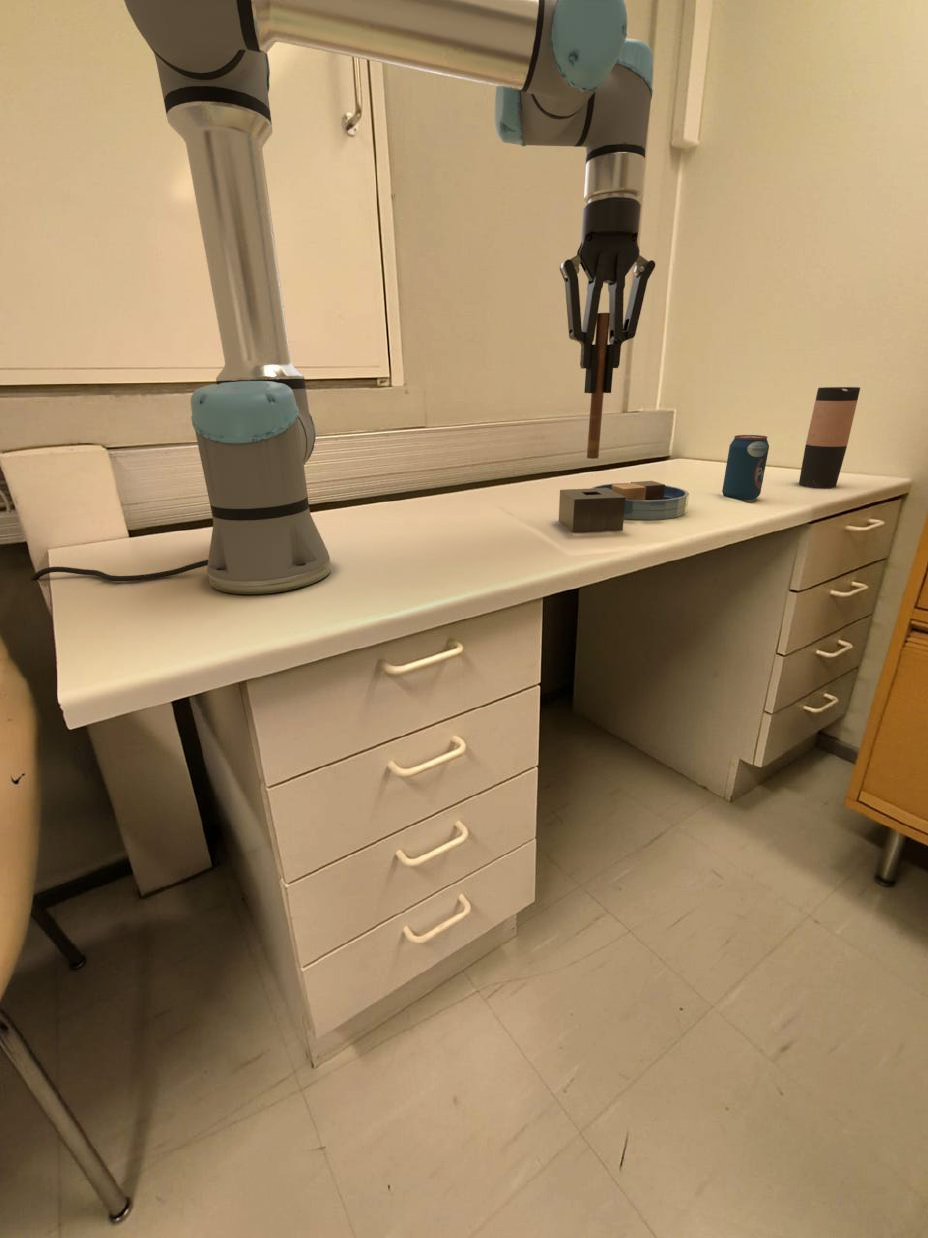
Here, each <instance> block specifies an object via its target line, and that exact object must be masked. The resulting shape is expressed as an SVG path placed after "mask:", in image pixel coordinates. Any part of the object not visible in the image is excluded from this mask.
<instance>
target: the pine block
mask: <svg viewBox="0 0 928 1238" xmlns="http://www.w3.org/2000/svg"><path fill="white" fill-rule="evenodd" d="M628 483H629V484H614V483H613V484H614V485H612V489H611V490H613V491H615V492H616V493H618V494H620V495H622V496H624V497H626V500H645V495H646V487H644V486H641V485H638V484H634V483H631V482H628Z"/></svg>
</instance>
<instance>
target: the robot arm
mask: <svg viewBox="0 0 928 1238" xmlns="http://www.w3.org/2000/svg"><path fill="white" fill-rule="evenodd" d="M123 2H124V3H125V6H126V10H127V11H128V14H129V16H130V18H131V19H132V22H133V23H134V25H135V27H136V29H137V30H138V31H139V33H140V35H141V36H142V38H143V39H144V40H145V42H146V44H147V45H148V46H149V48H150V49H151V51H152V53H153V55H154V59H155V62H156V67H157V74H158V77H159V78H158V79H159V85H160V88H161V93H162V99H163V104H164V109H165V115H166V120H167V123H168V125H169V126H170V127H171V128H172V129H173V130H174V132H176V133H177V134H178V136H180V138H182V139H183V141H184V143H185V146H186V147H185V148H186V152H187V158H188V163H189V169H190V175H191V180H192V186H193V191H194V197H195V203H196V206H197V207H196V208H197V215H198V219H199V224H200V230H201V236H202V237H201V238H202V242H203V248H204V253H205V258H206V265H207V270H208V277H209V282H210V287H211V293H212V298H213V303H214V309H215V315H216V320H217V325H218V326H217V327H218V331H219V337H220V343H221V348H222V354H223V358H224V366H223V368H222V369H221V371H220V372H219V373H218V375H217V376H216V378H215V382H216V384H213V383H212V384H208V385H204V386H201V387H199V388H196V390H194V392H193V393H192V394H191V396H190V410H191V416H190V419H191V425H192V428H193V429H194V432H195V437H196V442H197V446H198V452H199V456H200V462H201V466H202V471H203V476H204V482H205V486H206V487H205V488H206V492H207V496H208V502H209V507H210V512H211V517H212V529H211V530H212V531H211V537H210V545H209V550H208V559H207V558H206V559H204V560H201V561H197V562H194V563H190V564H187V565H183V566H180V567H178V568H174V569H169V570H164V571H158V572H151V573H145V574H134V575H114V574H107V573H106V572H103V571H100V570H97V569H86V568H76V567H69V566H50V567H49V566H48V567H45V568H42V569H39V570H38V571H37V572H35V573H34V574H33V575H32V576H31V577H30V579H29V581H30V582H36V581H38V580H40V578H42V576H45V575H47V574H51V573H65V574H67V573H68V574H74V575H81V576H95V577H98V578H101V579H102V580H106V581H109V582H122V583H123V582H139V581H148V580H154V579H161V578H167V577H172V576H176V575H180V574H183V573H187V572H189V571H191V570H196V569H199V568H203V567H207V569H206V572H207V576H208V581H209V585H210V587H212V588H213V589H215V590H217V591H220V592H223V593H229V594H236V595H265V594H273V593H275V594H276V593H280V592H286V591H293V590H296V589H299V588H303V587H306V586H310V585H312V584H314V583H317V582H319V581H321V580H323V579H324V578H326V577H327V576H328V575H329V574H330V573H331V571H332V565H331V555H330V553H329V551H328V549H327V547H326V544H325V543H324V540H323V538H322V536H321V534H320V532H319V529H318V528H317V525H316V523H315V521H314V519H313V517H312V514H311V511H310V503H309V494H308V487H307V480H306V471H305V465H306V463H307V462H308V461H309V460H310V458H311V456H312V454H313V451H314V449H315V444H316V439H317V438H316V437H317V436H316V435H317V434H316V432H317V431H316V425H315V422H314V420H313V416H312V414H311V413H310V409H309V402H308V394H307V386H306V378H305V375H304V374H303V373H302V372H301V371H300V370H299V369H297V368H296V367H295V366H294V364H293V363H292V357H291V351H290V343H289V336H288V329H287V322H286V316H285V315H286V314H285V305H284V298H283V291H282V285H281V278H280V271H279V262H278V256H277V248H276V240H275V234H274V233H275V232H274V227H273V219H272V211H271V204H270V196H269V189H268V182H267V181H268V180H267V174H266V166H265V160H264V153H263V148H264V146H265V144H266V143H267V141H268V140H269V139H270V138H271V136H272V134H273V123H272V115H271V108H270V99H269V93H270V76H271V72H270V71H271V70H270V60H269V55H268V52H269V51H270V50H271V49H272V48H273V46H274V45H275V44H276V43H282V44H286V45H292V46H297V47H303V48H307V49H312V50H317V51H322V52H328V53H333V54H336V55H342V56H347V57H350V58H351V57H352V58H357V59H361V60H366V61H372V62H377V63H382V64H387V65H391V66H396V67H400V68H406V69H411V70H416V71H420V72H427V73H431V74H436V75H441V76H447V77H451V78H457V79H461V80H466V81H471V82H475V83H480V84H485V85H486V84H487V85H490V86H496V87H495V88H496V89H495V95H494V96H495V97H494V128H495V132H496V136H497V138H498V140H499V141H501V142H502V143H504V144H510V145H519V146H521V147H526V146H536V147H537V146H538V147H539V146H541V147H542V146H543V147H575V148H586V149H585V150H586V156H585V174H584V175H585V177H584V179H585V180H584V190H583V191H584V192H583V193H584V194H583V201H584V202H585V203H586V205H585V206H584V207H583V209H582V219H581V220H582V223H581V236H580V237H581V238H580V239H581V241H580V245H579V248H578V249H577V251H576V255H575V256H573V257H572V258H570V259H566V260H564V261H563V262H562V263H560V264H559V271H560V274H561V275H562V279H563V281H564V288H565V301H566V302H565V303H566V315H567V317H566V318H567V328H568V338H569V339H570V340H571V341H575V342H577V343H579V344H580V361H579V366H580V370H581V369H582V370H583V369H585V377H584V392H583V393H584V394H591V393H595V386H596V373H597V359H598V346H599V344H595V343H594V342H595V336H596V322H597V315H598V313H599V307H600V303H601V302H600V301H601V294H602V290H603V287H604V284H607V292H608V307H609V308H608V313H610V320H609V333H608V345H607V358H606V370H605V383H604V394H612V388H613V387H612V386H613V375H614V374H613V373H614V369H618V368H619V366H620V365H621V364H620V361H621V351H622V345H623V343H624V342H626V341H628V340H631V339H633V338H635V336H636V333H637V329H638V325H639V320H640V316H641V312H642V306H643V303H644V298H645V294H646V289H647V285H648V281H649V279H650V277H651V275H652V273H653V271H654V269H655V268H656V261H655V260H653V259H651V260H648V259H646V258H645V257H644V256H642V255H641V254H640V253H641V252H640V250H641V249H640V247H639V244H638V238H639V237H638V236H639V227H640V221H641V220H640V218H641V209H642V204H641V203H640V201H639V199H640V198H641V197H642V196H643V189H644V175H645V166H646V165H645V164H646V148H647V139H648V131H649V121H650V111H651V101H652V99H653V94H654V93H653V92H654V90H653V82H654V81H653V79H654V54H653V51H652V49H651V47H650V46H649V45H648V44H647V42H644V41H643V40H641V39H637V38H631V37H630V38H629V37H628V38H627V36H628V34H627V31H628V13H627V8H626V3H625V1H624V0H123ZM580 267H581V268H582V271H583V272H584V274H585V276H586V278H587V284H586V298H585V304H584V305H585V307H584V314H583V320H582V313H581V297H580V283H579V277H578V274H579V273H580ZM633 267H634V269H633V274H634V278H633V281H632V284H631V288H630V292H629V298H628V302H627V307H626V311H625V315H624V299H625V298H624V297H625V296H624V293H625V291H624V290H625V287H626V276H627V275H628V274H629V272H630V271H631V270H632V268H633ZM593 343H594V344H593ZM72 749H73V751H74V755H75V756H76V760H77V763H78V765H79V767H80V771H81V774H82V777H83V780H84V782H88V781H90V780H91V778H90V774H89V772H88V769H87V765H86V762H85V760H84V756H83V754H82V751H81V748H80V746H79V745H74V746H72Z"/></svg>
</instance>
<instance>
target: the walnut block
mask: <svg viewBox="0 0 928 1238" xmlns="http://www.w3.org/2000/svg"><path fill="white" fill-rule="evenodd" d="M630 483H634V484H638V485H641V486H644V487H646V495H645V500H648V501H650V500H664V491H665V485H666V484H664V483H661V482H658V481H654V480H642V481H631V482H630Z"/></svg>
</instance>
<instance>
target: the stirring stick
mask: <svg viewBox="0 0 928 1238" xmlns="http://www.w3.org/2000/svg"><path fill="white" fill-rule="evenodd" d="M609 320H610V313H609V312H598V315H597V322H596V329H595V335H594V344H599V346H598V359H597V373H596V386H595V393H590V405H589V406H590V407H589V419H588V420H589V422H588V434H587V448H586V459H590V460H591V459H592V460H594V459H599V456H600V445H601V431H602V419H603V409H604V408H603V407H604V395H605V393H604V383H605V370H606V358H607V345H609Z"/></svg>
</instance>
